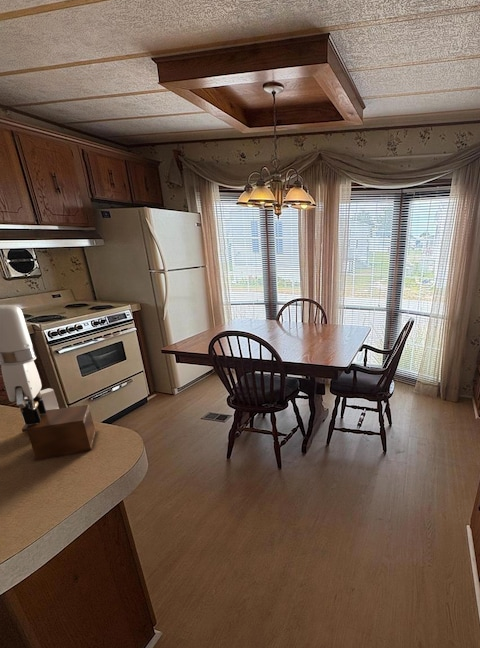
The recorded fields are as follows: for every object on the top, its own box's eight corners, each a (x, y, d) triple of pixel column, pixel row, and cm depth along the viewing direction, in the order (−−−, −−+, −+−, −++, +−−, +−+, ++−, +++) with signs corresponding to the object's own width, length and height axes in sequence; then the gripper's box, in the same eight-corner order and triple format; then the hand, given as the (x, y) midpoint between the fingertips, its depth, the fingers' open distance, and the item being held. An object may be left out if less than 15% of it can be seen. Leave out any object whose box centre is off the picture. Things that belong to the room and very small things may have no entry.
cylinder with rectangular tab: (54, 419, 113) (44, 385, 108) (70, 426, 109) (60, 392, 105) (22, 431, 105) (9, 395, 101) (37, 439, 102) (25, 402, 97)
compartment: (36, 459, 92) (26, 431, 89) (45, 440, 101) (37, 414, 98) (91, 449, 98) (83, 422, 94) (95, 432, 106) (89, 407, 103)
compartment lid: (22, 432, 89) (16, 414, 87) (33, 414, 97) (28, 398, 95) (83, 422, 94) (79, 405, 92) (89, 406, 103) (85, 391, 101)
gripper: (8, 347, 92) (28, 407, 99) (-17, 367, 78) (8, 436, 85) (42, 345, 95) (59, 403, 102) (24, 363, 81) (45, 430, 88)
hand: (36, 417), depth 93 cm, fingers closed on compartment lid, 5 cm apart
